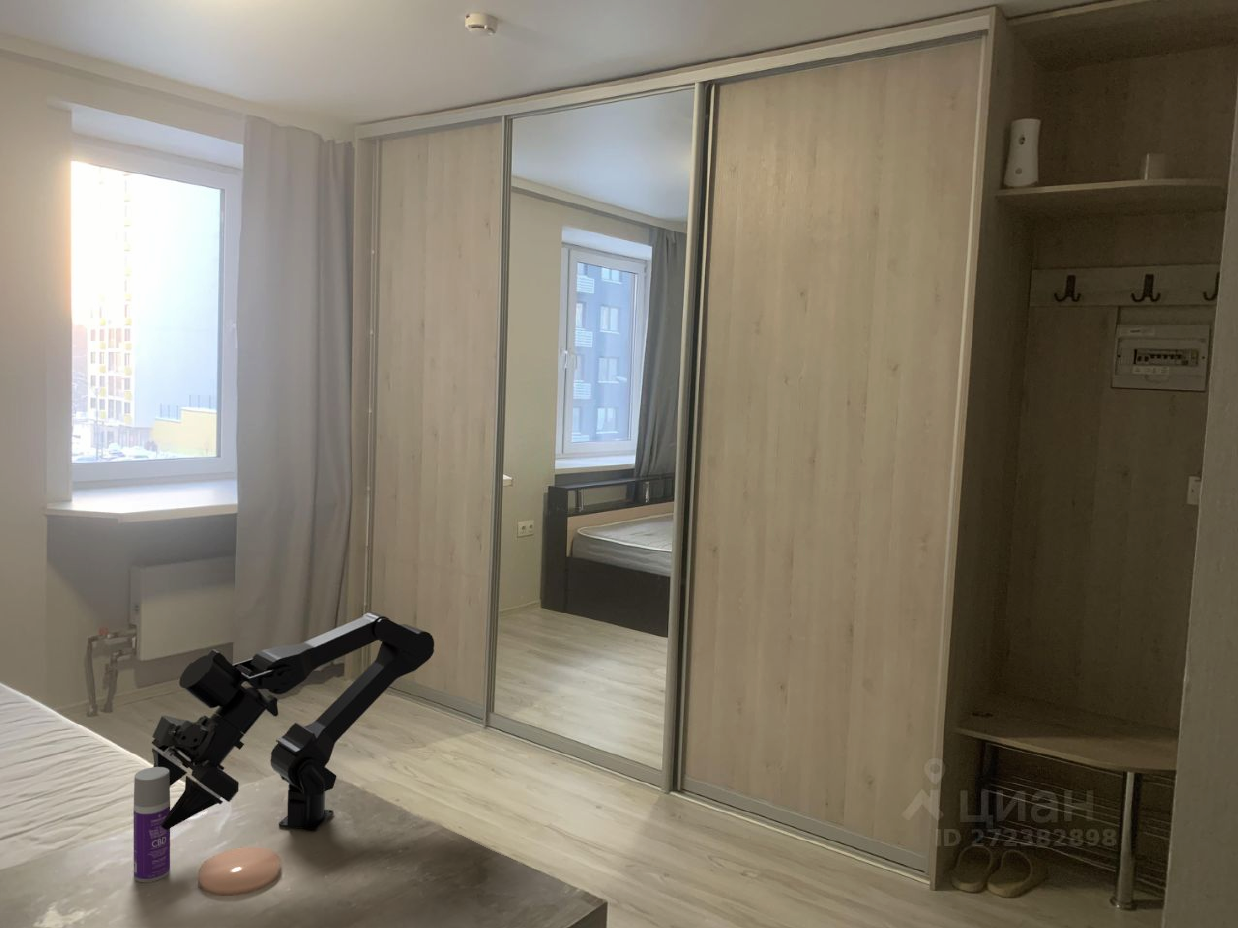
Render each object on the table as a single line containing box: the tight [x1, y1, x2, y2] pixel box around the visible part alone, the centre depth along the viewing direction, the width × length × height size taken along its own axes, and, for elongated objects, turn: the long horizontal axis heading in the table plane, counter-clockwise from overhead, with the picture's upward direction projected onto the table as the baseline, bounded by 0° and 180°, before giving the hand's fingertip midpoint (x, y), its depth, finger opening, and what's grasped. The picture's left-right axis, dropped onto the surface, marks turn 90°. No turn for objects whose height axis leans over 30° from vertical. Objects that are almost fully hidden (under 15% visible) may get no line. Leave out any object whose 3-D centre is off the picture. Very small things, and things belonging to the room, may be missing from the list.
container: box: [133, 766, 171, 883], centre depth 130 cm, size 5×5×15 cm
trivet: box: [197, 846, 281, 896], centre depth 132 cm, size 11×11×1 cm
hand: (151, 816), depth 130 cm, fingers open, 9 cm apart
